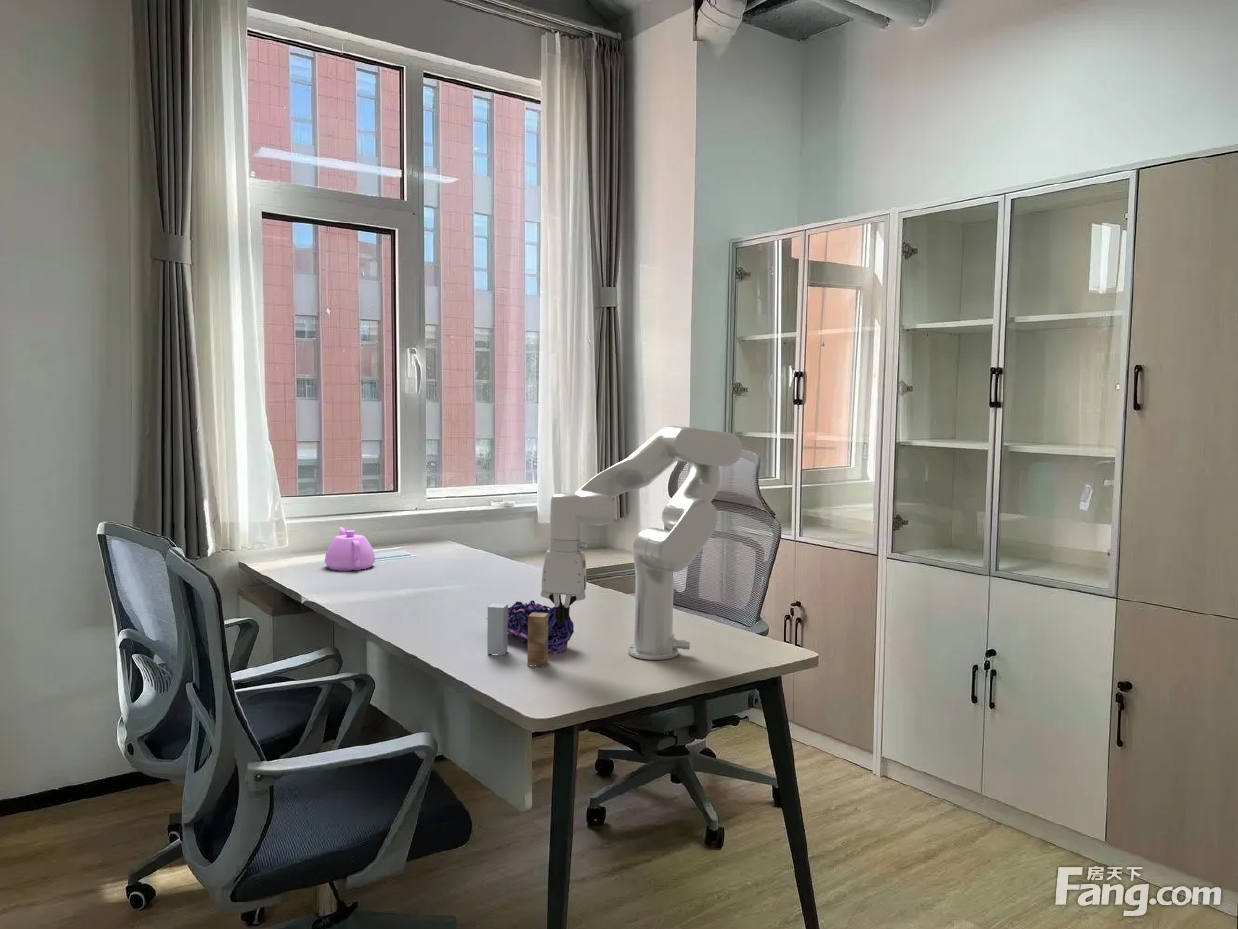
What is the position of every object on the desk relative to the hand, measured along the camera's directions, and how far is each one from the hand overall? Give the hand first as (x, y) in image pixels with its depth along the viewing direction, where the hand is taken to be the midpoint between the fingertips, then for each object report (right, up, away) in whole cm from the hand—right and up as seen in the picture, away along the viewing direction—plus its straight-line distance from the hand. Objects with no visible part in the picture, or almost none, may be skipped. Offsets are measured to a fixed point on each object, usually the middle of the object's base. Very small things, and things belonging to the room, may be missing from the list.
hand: (562, 622), depth 217 cm
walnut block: (-6, -10, +2) cm, 12 cm away
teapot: (-86, -1, +122) cm, 149 cm away
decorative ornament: (-11, -9, +23) cm, 27 cm away
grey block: (-17, -9, +11) cm, 22 cm away
